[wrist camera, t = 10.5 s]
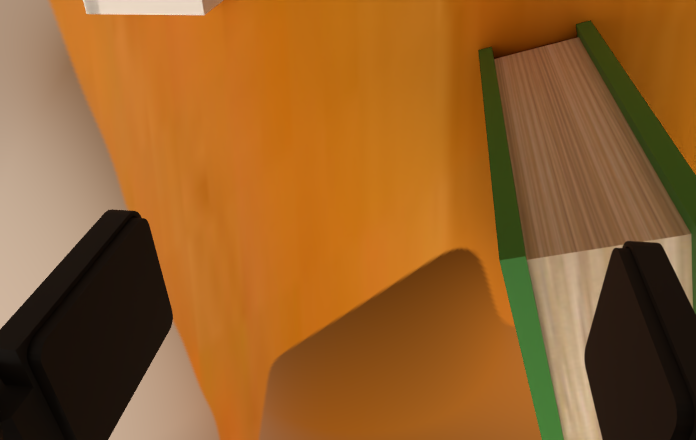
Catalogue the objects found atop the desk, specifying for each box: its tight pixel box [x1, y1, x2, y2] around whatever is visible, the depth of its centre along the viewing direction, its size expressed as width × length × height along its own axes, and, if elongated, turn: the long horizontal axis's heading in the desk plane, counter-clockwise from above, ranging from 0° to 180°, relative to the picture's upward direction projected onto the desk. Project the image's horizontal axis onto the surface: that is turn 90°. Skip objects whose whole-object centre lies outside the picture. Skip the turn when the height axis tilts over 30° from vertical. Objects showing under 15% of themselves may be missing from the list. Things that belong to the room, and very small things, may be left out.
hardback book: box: [478, 20, 696, 440], centre depth 34 cm, size 18×7×24 cm, turn 19°
